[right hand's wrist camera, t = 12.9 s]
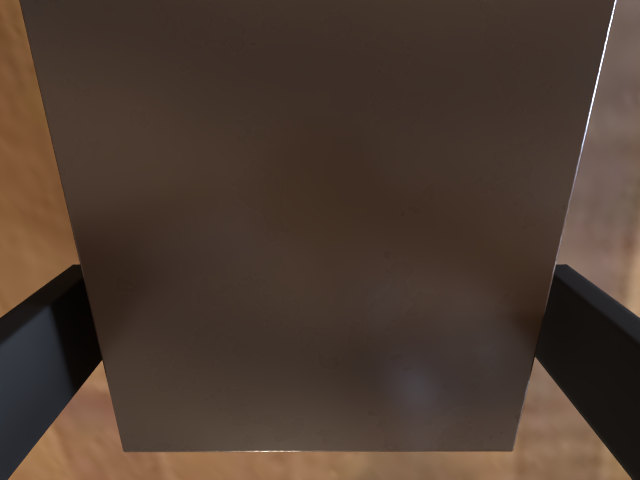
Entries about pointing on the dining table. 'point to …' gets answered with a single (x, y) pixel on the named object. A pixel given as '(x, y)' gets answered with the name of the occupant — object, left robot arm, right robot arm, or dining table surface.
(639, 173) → the dining table surface
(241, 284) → the cabinet
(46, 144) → the dining table surface
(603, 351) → the right robot arm
